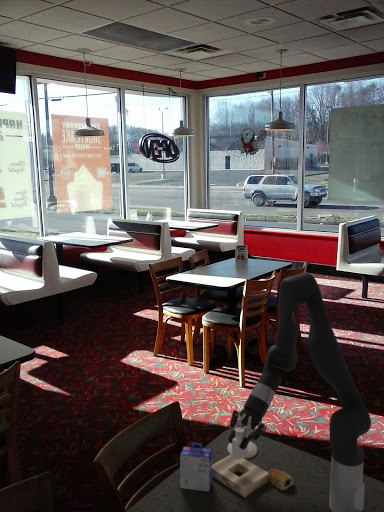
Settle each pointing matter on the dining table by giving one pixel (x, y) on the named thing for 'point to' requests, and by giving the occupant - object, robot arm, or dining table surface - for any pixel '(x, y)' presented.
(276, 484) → the pastry
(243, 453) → the salt shaker
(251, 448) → the white dome
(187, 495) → the dining table surface
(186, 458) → the ink cartridge box
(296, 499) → the dining table surface
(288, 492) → the dining table surface
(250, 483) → the socket block
